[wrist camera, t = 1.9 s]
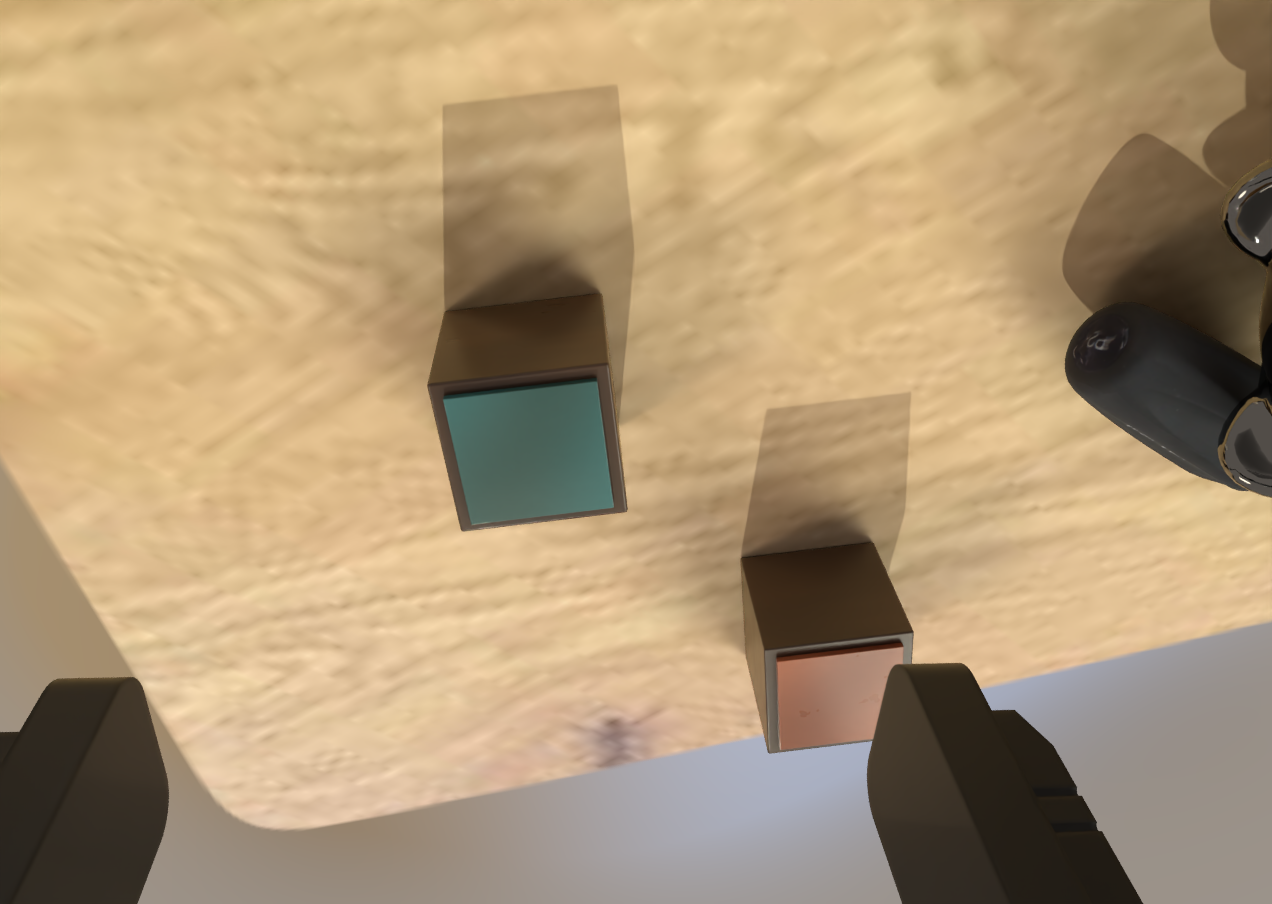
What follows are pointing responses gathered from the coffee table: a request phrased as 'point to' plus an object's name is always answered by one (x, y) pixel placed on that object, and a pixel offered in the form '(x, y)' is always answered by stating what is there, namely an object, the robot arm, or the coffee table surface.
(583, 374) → the teal topped brown block
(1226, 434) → the piggy bank
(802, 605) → the red-topped brown block
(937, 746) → the robot arm
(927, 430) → the coffee table surface
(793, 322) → the coffee table surface
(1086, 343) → the screwdriver
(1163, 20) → the coffee table surface
